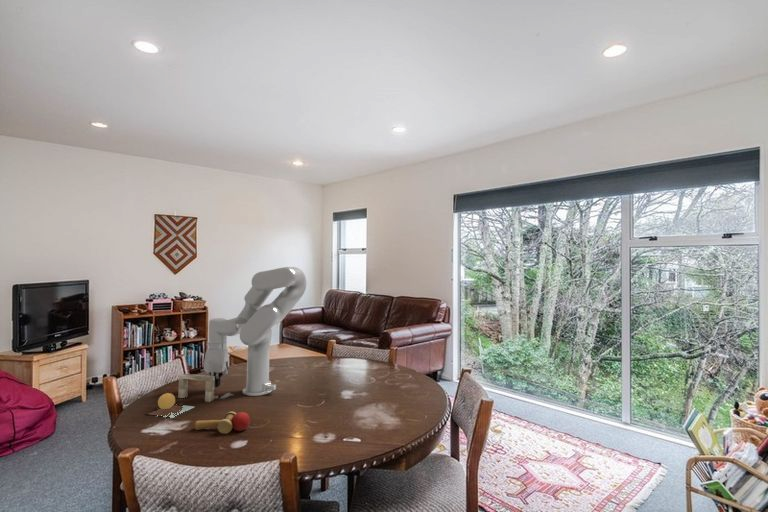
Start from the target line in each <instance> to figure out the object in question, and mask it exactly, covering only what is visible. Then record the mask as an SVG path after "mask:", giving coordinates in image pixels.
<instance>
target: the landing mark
mask: <svg viewBox="0 0 768 512" xmlns="http://www.w3.org/2000/svg"><path fill="white" fill-rule="evenodd" d="M182 405H183V404H182ZM182 407H183V408H182V410H181V411H180V410H179V411H180V412H179V413H180V415H181V413H182V414H183V412H184V413H186V412H187V411H190V410H191V409H194V408H195V406H193V405H186V404H185V405H183V406H182ZM185 411H186V412H185ZM179 413H178V412H177V415H178V416H179ZM169 414H170V413H169ZM169 414H168V415H169ZM173 414H174V413H172V412H171V415H170V416H169V417H170V418H169V419H173V418H176V417H178V416H177V415H175V414H176V413H175V414H174V415H175V416H176V417H175V416H174V415H173ZM168 415H167V416H168ZM161 416H162V415H161ZM167 416H166V415H165V416H163V417H162V418H166V417H167ZM156 417H158V415H157V416H156Z"/></svg>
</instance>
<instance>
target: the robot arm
mask: <svg viewBox="0 0 768 512" xmlns="http://www.w3.org/2000/svg"><path fill="white" fill-rule="evenodd" d="M282 288H284V289H283V290H282V291H281V292H280V293H279V294H278V295H277V296H276V298H274V300H273V301H271V302H270V303H268V304H265V305H264V303H265V302H266V300H267V299H268V297H269V296H270V295H271V294H272V293H273V291H274V290H277V289H282ZM306 289H307V278H306V274H305V273H304V272H303V270H302V269H301V268H299V267H296V266H295V267H294V266H284V267H279V268H275V269H274V268H273V269H269V270H263V271H258V272H257V273H255V274H254V275H253V276H252V278H251V287H250V289H249V290H248V291H247V292H246V294H245V295H244V297H243V300H244V301H245V302H244V303H245V304H244V307H243V308H242V310H241V311H240V313H239V314H238V315H237V316H236V317H234V318H231V319H226V318H224V317H223V318H221V317H218V318H217V317H215V318H212V319H210V320H209V322H208V342H207V343H206V346H207V347H208V348H207V349H206V351H205V355H204V360H203V371H205V373H206V374H209V376H215V382H214V389H216V388H219V387H220V385H221V378H222V377H223V376H225V375H228V374H229V371H228V370H229V367H230V365H229V364H230V360H229V350H228V348H227V341H228V340H227V338H228V337H234V336H236V335H237V336H238V335H239V339H240V342H241V343H242V344H243V345H245V346H248V347H247V352H246V353H247V354H246V355H247V358H246V360H247V361H246V387H244V388H243V389H242V394H243V395H245V396H249V397H252V396H253V397H258V396H264V395H267V394H270V393H271V392H272V391H275V390H277V384H273V383H272V381H271V380H270V355H271V354H270V353H271V352H270V351H271V341H272V335H273V334H272V328H273V327H274V326H275V325H278V324H280V323H281V322H282V321H283V320H284V319H285V318H286V316H288V314H289V313H290V312H291V310H293V308H294V307H295V306H296V305H297V303H298V302H299V301H300V300H301V299H302V297H303V295H305V291H306Z"/></svg>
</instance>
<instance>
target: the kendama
mask: <svg viewBox="0 0 768 512" xmlns="http://www.w3.org/2000/svg"><path fill="white" fill-rule="evenodd" d="M250 422H251V417H250V416H249V413H246V412H245V411H240V412H235V411H229V412H227V413H226V414H225V415H224V418H223V419H211V420H210V419H209V420H196V421H195V424H194V428H195V430H196V431H199V430H203V429H204V430H205V429H211V428H215V427H217V430H218V432H219V433H221V434H229V433H230V432H231V431H232V429H234V430H235V431H238V432H242V431H244V430H246V429H247V428H248V427H249V426H250V424H251V423H250Z"/></svg>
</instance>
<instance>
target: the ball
mask: <svg viewBox="0 0 768 512" xmlns="http://www.w3.org/2000/svg"><path fill="white" fill-rule="evenodd" d="M174 404H176V397H175V395H174V394H173V393H169V392H166V393H163V394H162V395H160V397H159V398H158V400H157V406H158V408H161V409H164V410H165V409H170V408H171V407H172V406H173V405H174Z"/></svg>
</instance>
